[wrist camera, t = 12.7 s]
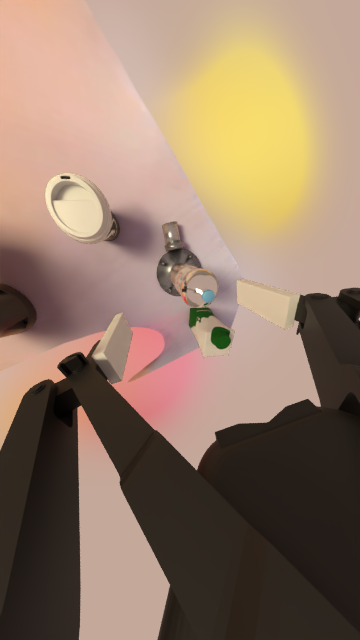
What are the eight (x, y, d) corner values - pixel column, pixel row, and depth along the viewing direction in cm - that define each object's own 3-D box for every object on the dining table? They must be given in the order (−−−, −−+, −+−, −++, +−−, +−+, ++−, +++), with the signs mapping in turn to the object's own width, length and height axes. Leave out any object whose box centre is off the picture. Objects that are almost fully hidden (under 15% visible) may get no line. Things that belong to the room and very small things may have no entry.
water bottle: (176, 257, 39) (204, 261, 17) (194, 270, 42) (239, 288, 20) (164, 278, 41) (177, 305, 19) (182, 289, 44) (212, 324, 22)
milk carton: (210, 305, 50) (242, 333, 32) (207, 326, 53) (234, 362, 36) (187, 305, 48) (207, 335, 30) (186, 327, 52) (203, 365, 34)
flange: (163, 299, 46) (164, 304, 41) (143, 231, 36) (142, 228, 32) (202, 289, 46) (208, 292, 42) (192, 219, 37) (198, 214, 32)
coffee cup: (128, 212, 34) (111, 185, 21) (122, 252, 38) (105, 251, 24) (85, 194, 31) (35, 150, 18) (83, 239, 35) (40, 229, 22)
